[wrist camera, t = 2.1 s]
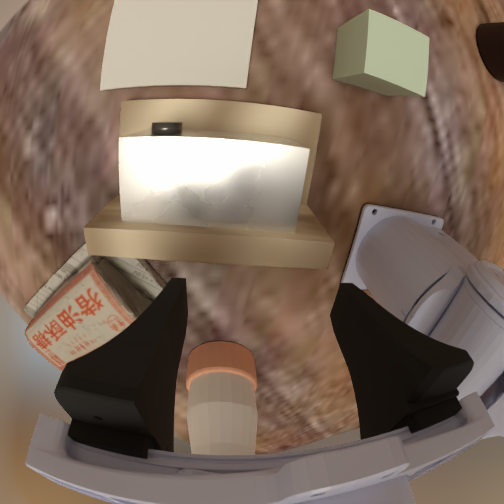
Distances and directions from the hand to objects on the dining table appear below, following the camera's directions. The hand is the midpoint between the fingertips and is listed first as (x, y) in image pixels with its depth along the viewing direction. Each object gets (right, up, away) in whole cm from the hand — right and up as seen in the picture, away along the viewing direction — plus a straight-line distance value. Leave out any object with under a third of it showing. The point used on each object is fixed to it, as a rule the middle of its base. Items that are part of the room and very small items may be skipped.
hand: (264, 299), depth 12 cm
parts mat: (-5, +17, 0) cm, 18 cm away
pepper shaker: (-4, -10, +16) cm, 19 cm away
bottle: (+24, +23, 0) cm, 33 cm away
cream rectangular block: (-3, +8, +4) cm, 10 cm away
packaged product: (-17, -3, +11) cm, 20 cm away
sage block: (+7, +16, +2) cm, 18 cm away
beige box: (-3, +9, +5) cm, 10 cm away
